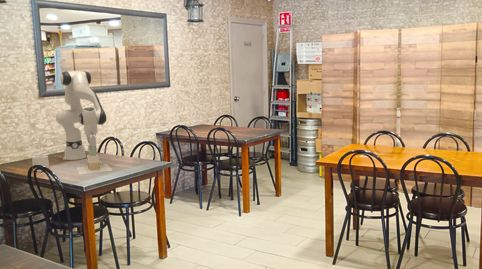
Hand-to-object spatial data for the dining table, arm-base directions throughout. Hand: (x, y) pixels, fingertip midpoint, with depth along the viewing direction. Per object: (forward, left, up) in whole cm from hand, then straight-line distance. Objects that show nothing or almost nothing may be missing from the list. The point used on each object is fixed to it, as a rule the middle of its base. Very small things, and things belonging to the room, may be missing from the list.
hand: (92, 150), depth 334 cm
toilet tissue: (-18, -34, -14) cm, 41 cm away
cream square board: (0, 0, -14) cm, 14 cm away
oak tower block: (0, 0, -13) cm, 13 cm away
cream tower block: (0, 0, -8) cm, 8 cm away
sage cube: (0, 0, -2) cm, 2 cm away
